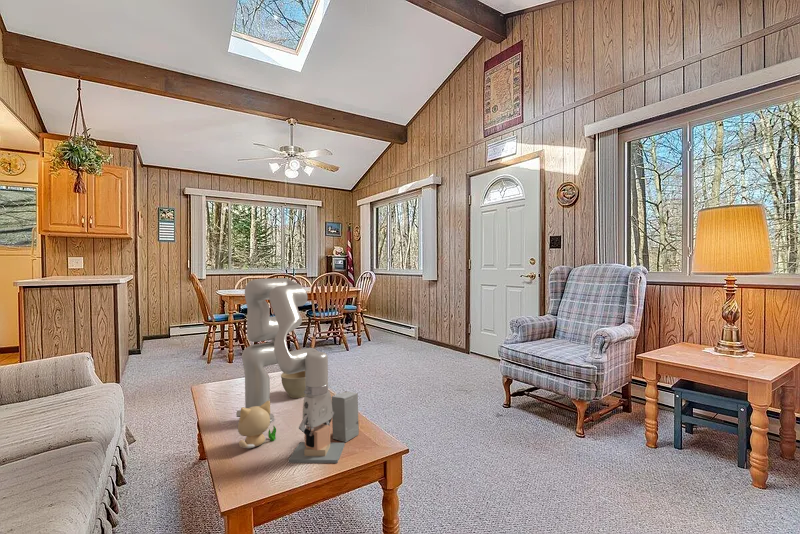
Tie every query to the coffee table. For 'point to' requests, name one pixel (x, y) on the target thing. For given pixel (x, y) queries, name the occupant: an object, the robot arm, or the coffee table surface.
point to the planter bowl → (294, 384)
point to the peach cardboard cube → (320, 437)
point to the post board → (317, 459)
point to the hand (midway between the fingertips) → (317, 441)
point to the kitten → (255, 425)
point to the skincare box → (345, 416)
